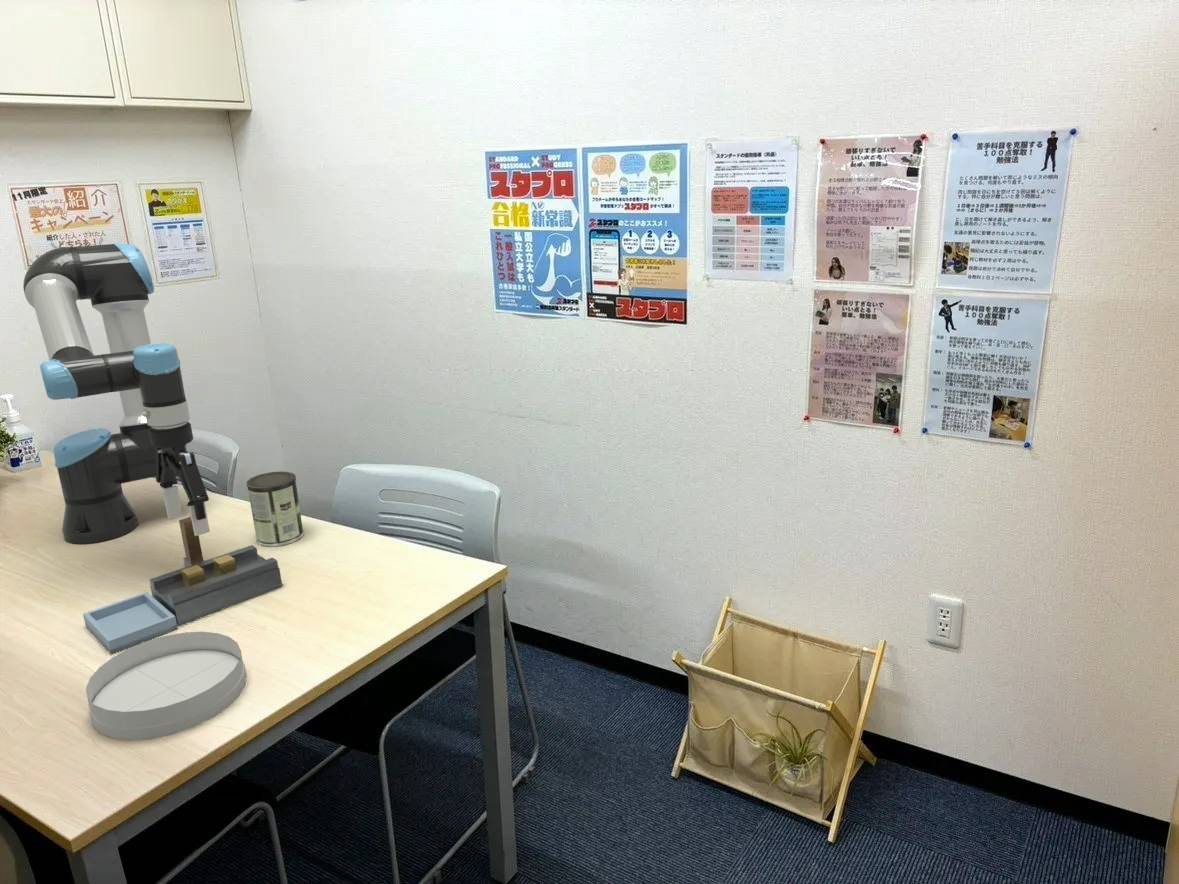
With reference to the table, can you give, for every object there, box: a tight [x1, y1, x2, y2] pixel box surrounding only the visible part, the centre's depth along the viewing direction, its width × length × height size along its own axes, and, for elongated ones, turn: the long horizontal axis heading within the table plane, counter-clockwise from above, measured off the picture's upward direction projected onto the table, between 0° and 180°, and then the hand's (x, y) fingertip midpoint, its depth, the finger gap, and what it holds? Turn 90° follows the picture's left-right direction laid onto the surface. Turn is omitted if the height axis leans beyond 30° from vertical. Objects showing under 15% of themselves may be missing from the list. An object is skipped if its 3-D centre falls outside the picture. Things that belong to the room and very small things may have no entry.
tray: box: [82, 592, 178, 655], centre depth 148 cm, size 14×11×2 cm
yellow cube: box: [213, 555, 237, 576], centre depth 159 cm, size 3×3×3 cm
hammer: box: [178, 516, 205, 568], centre depth 167 cm, size 6×2×12 cm, turn 46°
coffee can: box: [245, 471, 305, 547], centre depth 183 cm, size 10×10×14 cm
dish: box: [85, 631, 247, 741], centre depth 128 cm, size 22×22×5 cm
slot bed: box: [149, 545, 283, 627], centre depth 159 cm, size 12×20×6 cm, turn 136°
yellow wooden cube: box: [181, 565, 206, 587], centre depth 155 cm, size 3×3×3 cm
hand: (188, 525), depth 165 cm, fingers open, 13 cm apart
